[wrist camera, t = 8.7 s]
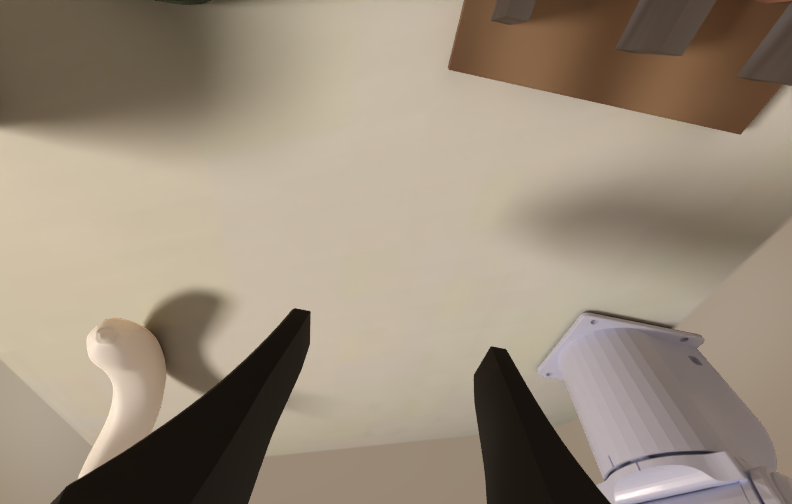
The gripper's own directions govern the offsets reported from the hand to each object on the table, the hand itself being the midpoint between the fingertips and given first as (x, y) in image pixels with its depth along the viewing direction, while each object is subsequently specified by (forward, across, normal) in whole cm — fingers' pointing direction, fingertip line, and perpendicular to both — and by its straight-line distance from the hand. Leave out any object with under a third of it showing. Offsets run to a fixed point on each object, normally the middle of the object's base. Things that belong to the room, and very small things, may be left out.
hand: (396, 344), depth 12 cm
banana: (+10, +22, +20) cm, 31 cm away
